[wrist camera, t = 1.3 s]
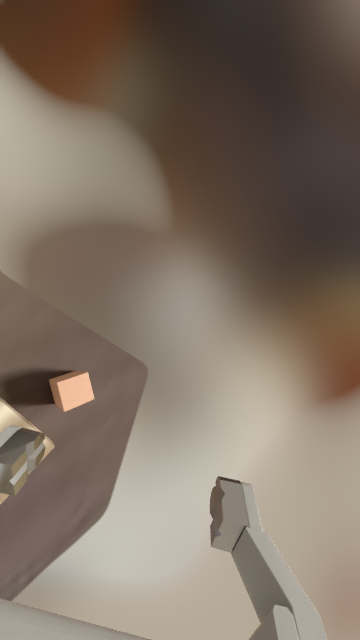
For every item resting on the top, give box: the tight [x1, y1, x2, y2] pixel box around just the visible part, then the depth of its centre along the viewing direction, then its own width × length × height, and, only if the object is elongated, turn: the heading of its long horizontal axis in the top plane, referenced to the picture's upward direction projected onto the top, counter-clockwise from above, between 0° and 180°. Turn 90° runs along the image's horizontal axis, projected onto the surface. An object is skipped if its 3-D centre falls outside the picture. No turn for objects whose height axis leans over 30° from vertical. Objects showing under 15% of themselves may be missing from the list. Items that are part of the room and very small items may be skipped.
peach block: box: [49, 371, 94, 412], centre depth 40 cm, size 5×5×9 cm
